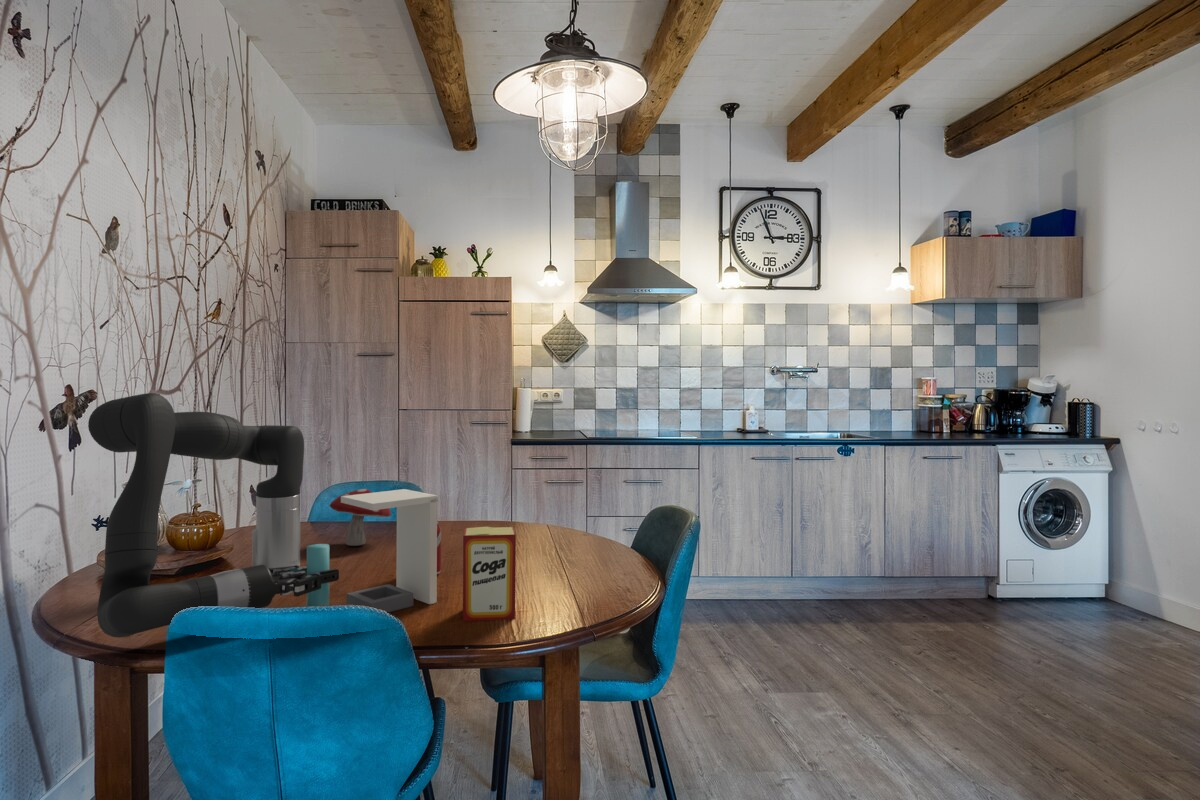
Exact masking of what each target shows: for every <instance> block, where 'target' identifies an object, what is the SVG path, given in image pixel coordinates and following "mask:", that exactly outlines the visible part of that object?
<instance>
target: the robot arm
mask: <svg viewBox="0 0 1200 800" xmlns="http://www.w3.org/2000/svg"><path fill="white" fill-rule="evenodd" d="M87 429H88V431H89V433H90V436H91V438H92V439H93V440H94V441H95V442H96V443H97V445H99V447H101V448H103V449H106V450H107V451H111V452H113V453H119V454H121V453H133V452H134V453H136V454H135V461H134V464H133V467H132V468H133V469H132V471H131V473H130V476H129V478H128V481H127V483H126V484H125V486H124V488H123V490H122V492H121V493H120V494H119V497H118V499H117V501H116V502H115V504H114V506H113V508H112V510H111V512H110V514H109V517H108V519H107V524H106V530H105V531H106V532H105V544H104V545H105V546H104V547H105V548H104V571H103V572H104V573H103V577H102V581H101V585H100V590H99V591H100V592H99V595H98V597H99V598H98V603H97V612H96V613H97V622H98V623H97V624H98V626H99V628H100V630H101V631H102V632H103V633H104V634H105V635H107V636H110V637H112V638H119V639H120V638H126V637H130V636H134V635H135V634H136V635H137V634H140V633H143V632H148V631H150V630H154V629H155V630H156V629H158V628H162V627H166V626H170V623H171V620H172V618H173V617H174V615H175V614H176V613H178V612H179V611H181V610H183V609H186V608H190V607H198V606H235V607H255V608H259V609H262V608H266V607H268V606H270V605H271V603H272V602H273V599H274V597H275V595H280V596H287V595H291V594H293V597H295V598H296V597H300V596H303V595H307V593H309V592H312V591H315V590H318V589H321V584H324V583H329V584H330V583H332V582H338V581H339V579H340V571H339V569H337V568H332V569H331V568H330V569H329V570H326V571H321V572H313V573H307V566H305V565H304V566H303V565H302V566H301V488H302V482H303V476H304V461H305V460H304V459H305V458H304V457H305V441H304V440H305V439H304V435H303V432H302V431H301V429H300V428H299V427H297V426H294V425H272V424H271V425H270V424H268V425H243V424H242V422H240V421H239V420H238V419H236V418H234V417H232V416H230V415H226V414H221V413H216V412H209V411H185V412H184V411H181V412H179V411H178V412H175V410H174V408H173V406H172V405H171V402H169V400H168V399H167V398H165V397H164V396H163V395H161V394H159V393H155V392H150V393H149V392H148V393H146V392H145V393H141V394H140V393H139V394H135V395H131V396H130V395H129V396H126V397H120V398H116V399H112V400H111V399H110V400H108V401H106V402H104V403H102V404H101V405H100V404H99V406H97V407H96V408H95V409H94V410H93V411H92V412H91V414H90V416H89V418H88V425H87ZM171 455H174V456H175V455H176V456H183V457H191V458H199V459H204V460H205V459H207V460H214V461H215V460H216V461H222V460H223V461H226V460H232V459H239V460H241V461H242V460H243V461H246V462H250V463H254V464H256V465H257V464H258V465H262V466H277V468H276V473H275V475H274V476H273V477H271V478H269V479H266V480H264V481H263V480H262V481H261V482H259V483H257V485H256V488H255V489H256V491H255V493H256V495H255V496H256V501H255V503H256V505H255V507H256V510H255V513H256V514H255V515H256V517H255V518H256V522H255V523H256V527H255V528H254V529H252V530H251V543H252V544H251V550H252V551H251V557H252V558H251V566H246V567H242V568H241V567H240V568H235V569H229V570H224V571H220V572H217V573H214V574H210V575H209V574H208V575H205V576H199V577H193V578H188V579H184V580H180V581H177V582H176V581H175V582H167V583H154V584H150V581H151V580H150V579H151V574H152V571H153V570H154V568H155V565H156V563H157V557H158V556H157V555H158V533H159V530H158V529H159V527H158V526H159V525H158V524H159V514H160V506H161V499H162V495H163V491H164V485H165V481H166V477H167V472H168V468H169V464H170V459H171ZM312 582H313V583H312Z"/></svg>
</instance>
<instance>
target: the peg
mask: <svg viewBox="0 0 1200 800" xmlns="http://www.w3.org/2000/svg"><path fill="white" fill-rule="evenodd" d="M306 567H307V573H313V572H321V571H326V570H330V544H328V543H316V544H314V543H313V544H310V545H308V546H306ZM312 583H313V582H312ZM319 605H329V606H330V582H329V583H324V584H321V589H318V590H315V591H312V592H309V593H306V607H307V606H319Z"/></svg>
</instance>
